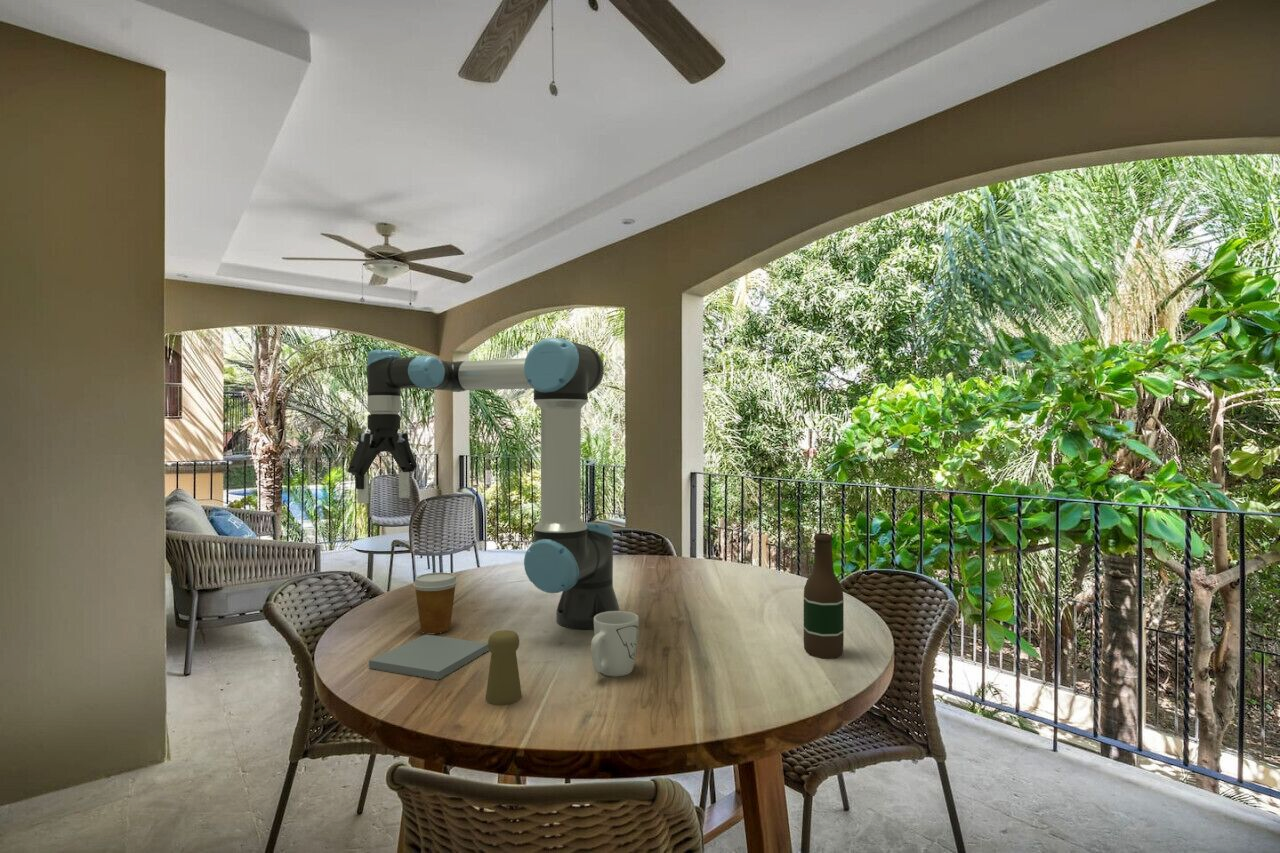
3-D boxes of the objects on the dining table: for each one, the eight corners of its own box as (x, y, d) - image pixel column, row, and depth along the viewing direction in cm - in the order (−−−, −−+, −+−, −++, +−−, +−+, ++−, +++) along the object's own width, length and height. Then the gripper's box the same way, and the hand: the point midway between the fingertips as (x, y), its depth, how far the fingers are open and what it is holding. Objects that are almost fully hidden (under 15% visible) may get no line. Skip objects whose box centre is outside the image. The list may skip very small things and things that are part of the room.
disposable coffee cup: (463, 624, 146) (463, 572, 146) (447, 637, 137) (447, 582, 137) (424, 622, 147) (424, 571, 147) (405, 636, 138) (405, 581, 138)
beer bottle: (843, 648, 130) (843, 532, 130) (843, 661, 123) (843, 538, 123) (805, 644, 133) (805, 530, 133) (802, 656, 125) (801, 536, 125)
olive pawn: (488, 690, 109) (488, 627, 109) (523, 689, 110) (523, 626, 110) (482, 705, 103) (482, 638, 103) (519, 704, 104) (519, 637, 104)
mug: (612, 688, 110) (612, 631, 110) (574, 678, 114) (574, 623, 114) (647, 667, 120) (647, 615, 120) (610, 659, 124) (610, 608, 124)
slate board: (489, 650, 129) (489, 643, 129) (438, 680, 114) (438, 671, 114) (425, 641, 134) (425, 634, 134) (369, 668, 119) (369, 660, 119)
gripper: (407, 415, 168) (408, 495, 167) (330, 412, 144) (331, 505, 144) (430, 414, 165) (431, 495, 164) (355, 411, 142) (356, 506, 141)
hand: (384, 500), depth 154 cm, fingers open, 13 cm apart
